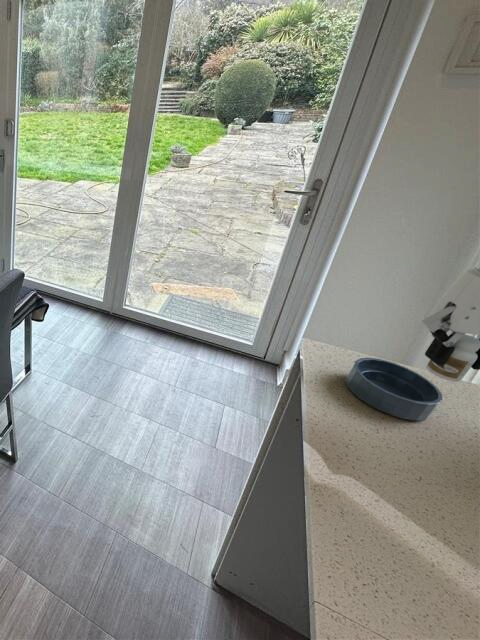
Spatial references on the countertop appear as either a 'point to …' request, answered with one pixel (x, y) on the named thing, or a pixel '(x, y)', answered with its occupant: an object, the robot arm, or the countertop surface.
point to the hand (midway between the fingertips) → (451, 361)
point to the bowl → (393, 389)
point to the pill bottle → (457, 360)
